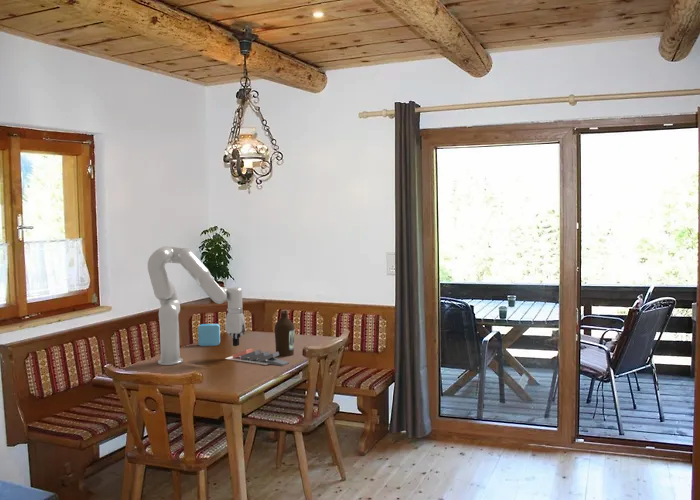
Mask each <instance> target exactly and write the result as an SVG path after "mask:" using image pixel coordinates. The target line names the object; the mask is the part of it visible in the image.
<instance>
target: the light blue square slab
mask: <svg viewBox="0 0 700 500" xmlns="http://www.w3.org/2000/svg"><path fill="white" fill-rule="evenodd" d="M197 332H198V333H197V336H198V337H197V339H198V340H197V341H198V345H199V346H200V347H210V346H212V347H215V346H219V345H220V343H221V325H220V324H219V323H202V324H199V325H198V327H197Z"/></svg>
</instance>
